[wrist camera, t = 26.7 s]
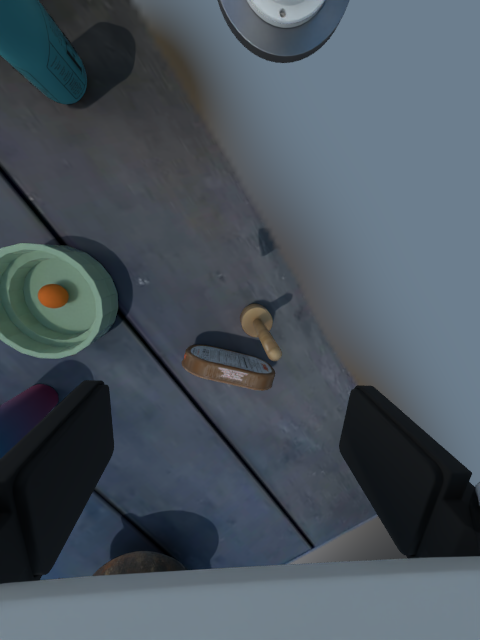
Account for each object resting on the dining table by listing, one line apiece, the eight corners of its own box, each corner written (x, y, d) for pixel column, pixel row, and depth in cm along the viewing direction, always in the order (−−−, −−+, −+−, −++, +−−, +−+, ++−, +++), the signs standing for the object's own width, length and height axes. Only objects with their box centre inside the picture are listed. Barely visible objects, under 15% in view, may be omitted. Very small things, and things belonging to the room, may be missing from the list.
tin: (185, 353, 42) (177, 377, 34) (189, 337, 41) (182, 357, 33) (265, 372, 44) (276, 398, 36) (271, 357, 43) (283, 380, 35)
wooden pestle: (236, 308, 40) (247, 342, 25) (265, 300, 40) (293, 328, 25) (244, 335, 42) (259, 383, 26) (272, 327, 42) (303, 370, 26)
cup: (66, 384, 41) (-15, 454, 27) (61, 417, 43) (-19, 499, 29) (24, 375, 40) (-85, 441, 26) (19, 408, 42) (-85, 489, 28)
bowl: (5, 241, 35) (-37, 238, 29) (116, 249, 36) (97, 248, 31) (22, 341, 39) (-12, 356, 33) (122, 345, 40) (106, 360, 35)
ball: (67, 284, 34) (71, 308, 35) (66, 282, 37) (69, 305, 38) (35, 285, 32) (39, 311, 33) (36, 283, 35) (40, 307, 36)
